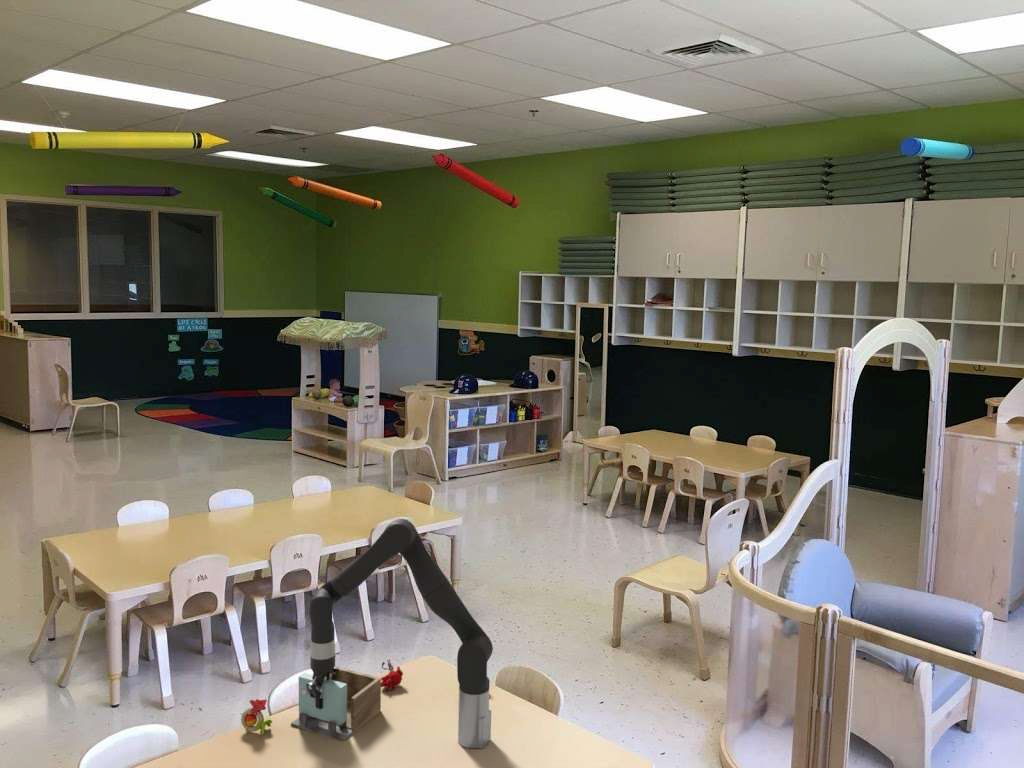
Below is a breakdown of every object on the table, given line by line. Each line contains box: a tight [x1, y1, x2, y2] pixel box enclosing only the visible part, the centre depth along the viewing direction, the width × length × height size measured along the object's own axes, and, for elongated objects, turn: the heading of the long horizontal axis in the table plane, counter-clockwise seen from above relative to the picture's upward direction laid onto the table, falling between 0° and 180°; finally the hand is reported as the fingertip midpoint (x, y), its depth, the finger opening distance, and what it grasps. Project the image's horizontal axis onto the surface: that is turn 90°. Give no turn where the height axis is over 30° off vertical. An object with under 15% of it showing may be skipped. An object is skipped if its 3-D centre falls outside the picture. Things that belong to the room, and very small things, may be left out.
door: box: [298, 672, 347, 725], centre depth 266 cm, size 16×4×12 cm, turn 66°
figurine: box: [380, 659, 404, 692], centre depth 299 cm, size 6×8×15 cm
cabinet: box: [290, 666, 382, 742], centre depth 274 cm, size 20×21×11 cm
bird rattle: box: [240, 699, 273, 737], centre depth 265 cm, size 6×11×9 cm
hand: (322, 705), depth 267 cm, fingers closed on door, 3 cm apart
